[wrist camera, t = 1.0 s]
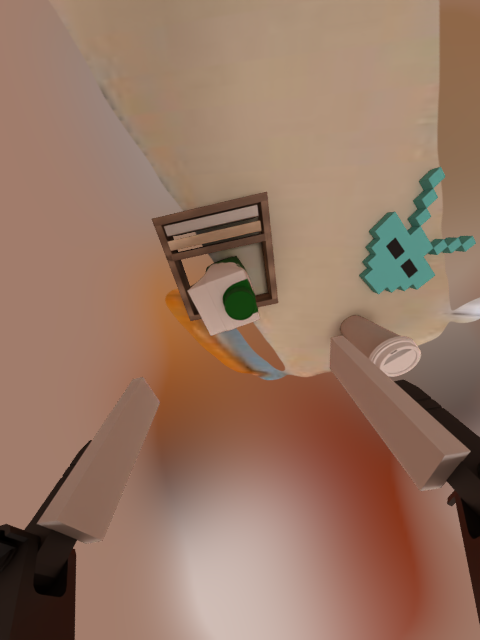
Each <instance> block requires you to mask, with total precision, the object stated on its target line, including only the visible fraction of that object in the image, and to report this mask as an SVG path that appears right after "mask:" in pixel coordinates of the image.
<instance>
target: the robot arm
mask: <svg viewBox="0 0 480 640" xmlns="http://www.w3.org/2000/svg"><path fill="white" fill-rule="evenodd" d="M330 369H331V371H332V372H333V373H334V375H335V376H336V377H337V379H338V380H339V381H340V383H341V384H342V385H343V387H344V388H345V390H346V391H347V392H348V393H349V395H350V396H351V398H352V399H353V400H354V402H355V403H356V404H357V406H358V407H359V408H360V410H361V411H362V412H363V414H364V415H365V417H366V418H367V419H368V421H369V422H370V423H371V425H372V426H373V427H374V429H375V430H376V431H377V433H378V434H379V435H380V437H381V438H382V440H383V441H384V442H385V444H386V445H387V446H388V448H389V449H390V450H391V452H392V453H393V454H394V456H395V457H396V459H397V460H398V461H399V463H400V464H401V465H402V467H403V468H404V469H405V471H406V472H407V473H408V475H409V476H410V477H411V479H412V480H413V481H414V483H415V484H416V486H417V487H418V488H419V490H420V491H424V490H430V489H436V488H441V487H442V486H443V485H444V484H445V482H446V481H447V482H448V483H449V484H450V485H451V486H452V488H453V489H454V492H453V493H452V494H451V495H450V496H449V497H448V501H447V504H448V505H450V506H453V505H454V504H455V503H456V506H457V511H458V517H459V522H460V527H461V532H462V537H463V542H464V547H465V552H466V557H467V562H468V567H469V572H470V577H471V582H472V587H473V593H474V598H475V603H476V608H477V613H478V618H479V623H480V437H479V436H477V435H476V434H475V433H474V432H472V431H471V430H470V429H469V428H467V427H466V426H465V425H464V424H463V423H461V422H460V421H459V420H458V419H457V418H455V417H454V416H453V415H451V414H450V413H449V412H448V411H446V410H445V409H444V408H442V407H441V405H439V404H438V403H437V402H436V401H434V400H432V399H431V397H430V396H428V395H427V394H426V393H424V392H423V391H422V390H421V389H420V388H418V387H416V386H415V385H413V384H411V383H409V382H407V381H405V380H399V381H393V380H391V379H390V378H389V377H388V376H387V375H386V374H385V373H384V372H383V371H382V370H380V369H379V368H378V367H377V366H376V365H375V364H374V363H373V362H372V361H371V360H369V359H368V358H367V357H366V356H365V355H364V354H363V353H362V352H361V351H359V350H358V349H357V348H356V347H355V346H354V345H353V344H352V343H351V342H350V341H348V340H347V339H346V338H345V337H344V336H343V335H341V336H336V337H332V338H331V348H330ZM159 404H160V402H159V400H158V398H157V397H156V395H155V394H154V393H153V391H152V390H151V388H150V387H149V385H148V384H147V382H146V381H145V379H144V378H143V377H141V378H136V379H133V380H132V381H131V383H130V384H129V386H128V387H127V389H126V390H125V392H124V393H123V395H122V396H121V398H120V399H119V401H118V402H117V404H116V405H115V407H114V408H113V410H112V411H111V413H110V414H109V416H108V417H107V419H106V420H105V422H104V423H103V425H102V426H101V428H100V429H99V431H98V433H97V434H96V435H95V437H94V438H93V440H90V441H89V442H88V443H87V444H86V445H85V446H84V447H83V448H82V449H81V450H80V451H79V453H78V454H77V455H76V457H75V458H74V460H73V461H72V463H71V464H70V467H68V469H67V470H66V471H65V473H64V474H63V477H62V478H61V479H60V480H59V482H58V483H57V484H56V486H55V487H54V489H53V490H52V492H51V493H50V495H49V496H48V497H47V499H46V500H45V502H44V503H43V504H42V506H41V507H40V509H39V510H38V512H37V513H36V515H35V516H34V518H33V519H32V521H31V522H30V523H29V525H28V526H27V527H26V528H25V530H22V529H19V528H16V527H13V526H10V525H8V524H5V525H2V526H0V640H74V639H75V638H74V637H75V585H76V552H75V549H73V547H74V545H75V543H76V541H77V540H79V541H81V542H83V543H93V542H99V541H103V539H104V537H105V534H106V532H107V529H108V527H109V525H110V522H111V520H112V517H113V515H114V512H115V510H116V508H117V505H118V503H119V500H120V498H121V496H122V493H123V491H124V488H125V486H126V483H127V481H128V479H129V476H130V474H131V471H132V469H133V467H134V464H135V462H136V459H137V457H138V454H139V452H140V450H141V447H142V445H143V442H144V440H145V438H146V435H147V433H148V430H149V428H150V425H151V423H152V421H153V418H154V416H155V413H156V411H157V409H158V406H159Z"/></svg>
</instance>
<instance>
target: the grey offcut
mask: <svg viewBox="0 0 480 640" xmlns="http://www.w3.org/2000/svg"><path fill="white" fill-rule="evenodd" d="M257 216H258V207H257V205H254V206H250V207H246V208H241V209H237V210H233V211H229V212H224V213H220V214H216V215H211V216H207V217H203V218H198V219H194V220H190V221H185V222H181V223H177V224H173V225H168V226H164V228H165V231H166V233H167V236H178V235H183V234H187V233H191V232H196V231H200V230H204V229H209V228H213V227H217V226H222V225H226V224H230V223H235V222H239V221H244V220H248V219H252V218H255V217H257Z"/></svg>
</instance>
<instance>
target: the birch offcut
mask: <svg viewBox="0 0 480 640" xmlns="http://www.w3.org/2000/svg"><path fill="white" fill-rule="evenodd" d="M257 231H261V223H260V221H256V222H251V223H247V224H243V225H238V226H234V227H229V228H225V229H221V230H216V231H212V232H208V233H203V234H199V235H195V236H190V237H186V238H181V239H177V240H173V241H168V245H169V247H170V250H171V251H173V250H177V249H182V248H186V247H191V246H195V245H200V244H204V243H208V242H213V241H217V240H222V239H226V238H231V237H235V236H239V235H244V234H248V233H253V232H257Z"/></svg>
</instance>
